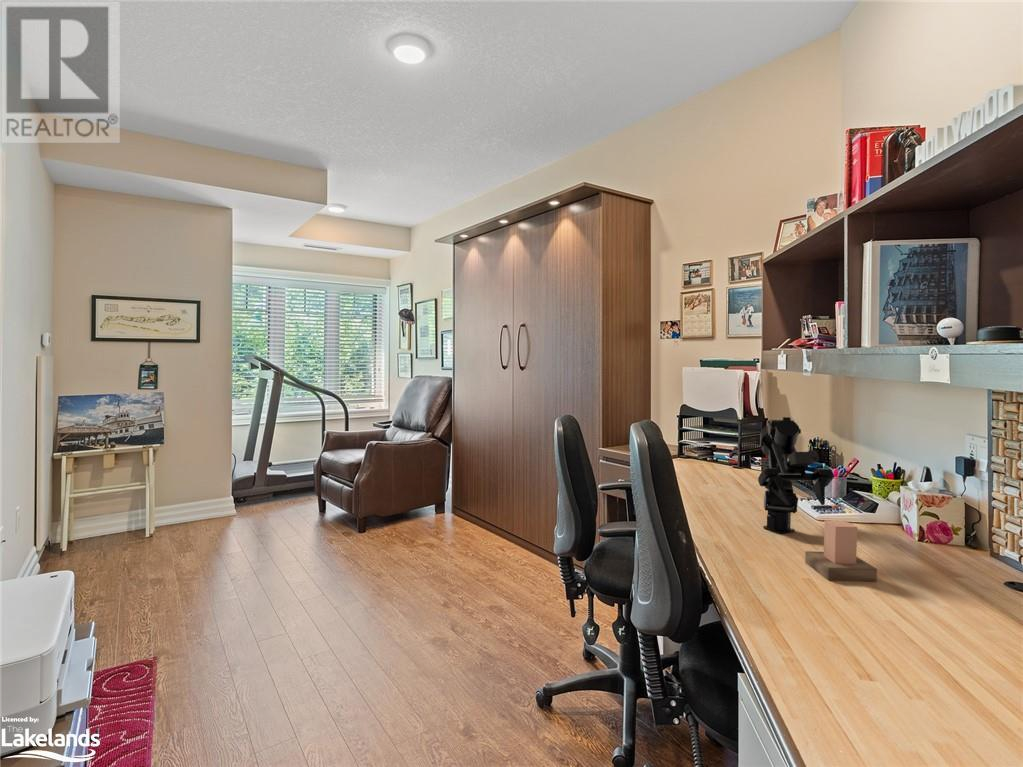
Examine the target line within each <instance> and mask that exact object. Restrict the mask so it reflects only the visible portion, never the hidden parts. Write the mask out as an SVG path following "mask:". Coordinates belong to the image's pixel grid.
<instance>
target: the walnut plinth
mask: <svg viewBox="0 0 1023 767" xmlns="http://www.w3.org/2000/svg"><path fill="white" fill-rule="evenodd" d="M804 556H805V557H804V559H805V561H804V563H805V564H806V565H808V566H809V567H810V568H812V569H813V570H814V571H815V572H817V573H818V574H820V575H821V577H823V578H825V579H826V580H827V581H841V582H842V581H843V582H847V581H848V582H877V581H878V578H877V577H878V568H876V567H875V566H873V565H871V564H869V563H868V562H867V561H865V560H863V559H862V558H860V557H858V556H857V555H856V564H842V563H834V562H832V561H831V560H829V559H828V558H826V557H825V556H824V551H815V550H814V551H811V550H807V551H805V555H804Z"/></svg>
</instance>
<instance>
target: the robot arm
mask: <svg viewBox="0 0 1023 767" xmlns="http://www.w3.org/2000/svg"><path fill="white" fill-rule="evenodd" d="M766 423H767V424H766V425H765V426H764V427H763V428H762V429H761V430H760V436H759V447H760V448H761V449H762V453H763V455H765V457H767V458H768V467H764V468H763V469H762V470H761V472H760V474H759V476H758V477H757V478H758V480H757V481H758V484H759V486H760V487H764V488H765V489H766V490H765V491H764V497H763V508H764V511H767V515H766V525H763V527H762V528H763V529H766V530H769V531H771V532H775V533H776V534H782V535H783V534H787V533H794V532H795V531H796V530H795V528H791V519H792V518H791V516H792V514H796V513H797V512H798V505H799V504H798V503H799V497H798V496H797V493H796V492H794V488H793V483H792V481H794V482H797V481H800V482H801V481H802V482H804V481H806V482H810V485H812V487H811V489H812V491H813V493H814V494H815V496H816V499H817V500H818V502H819V504H820V505H821V506H824V505H825V504H826V503H825V502H826V496H825V495H826V487H827V486H828V485H829V484H830V483H831V482H832V480H833V479H834V478H835V476H836V475H835V474H834V472H833V470H832V469H831V468H820V467H819V468H815V469H814V471H813V472H811V473H810V472H809V473H807V471H808V470H809V468H810V467H809V466H810V465H814V463H817V462H819V461H820V460H819V459H820V458H819V454H818V452H817V450H815V449H814V450H813V449H811V450H808V451H797V449H796V444H797V442H798V437H799V435H800V434H802V431H801V430H802V429H801V428H800V426H799V425H798V424H797V422H795V421H794V420H791V417H789V416H787V417H786V416H785V417H783V416H782V419H769V420H767V422H766ZM791 513H792V514H791Z"/></svg>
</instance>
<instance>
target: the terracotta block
mask: <svg viewBox="0 0 1023 767" xmlns="http://www.w3.org/2000/svg"><path fill="white" fill-rule="evenodd" d="M823 524H824V529H823V552H824V556H825V557H826V558H828V559H829V560H831V561H832V562H834V563H842V564H856V556H857V548H858V547H857V546H858V545H857V544H858V540H857V539H858V527H857V526H856V525H854V524H852V523H850V522H848V521H847V520H829V519H827V520H826V519H825V520H824V523H823Z"/></svg>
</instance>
